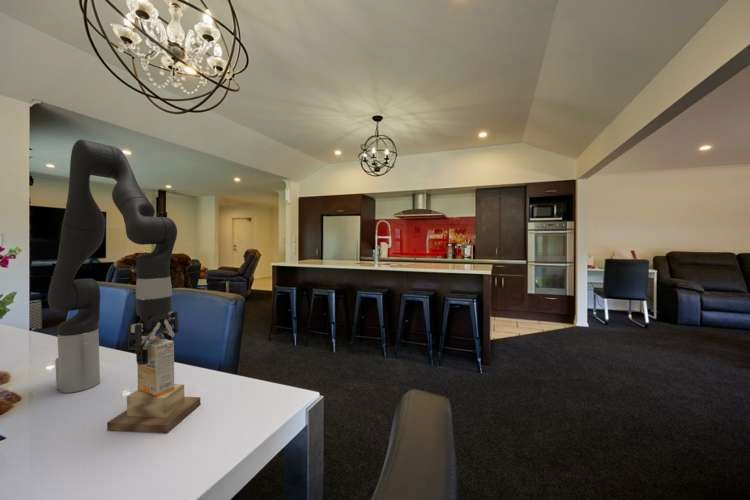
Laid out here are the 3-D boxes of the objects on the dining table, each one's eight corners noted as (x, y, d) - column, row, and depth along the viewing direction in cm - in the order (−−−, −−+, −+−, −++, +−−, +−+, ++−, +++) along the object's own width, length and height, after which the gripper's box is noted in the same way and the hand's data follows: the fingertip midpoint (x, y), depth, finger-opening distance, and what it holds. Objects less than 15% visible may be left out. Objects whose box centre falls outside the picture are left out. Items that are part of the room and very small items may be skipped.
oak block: (127, 415, 79) (126, 396, 78) (149, 401, 86) (148, 383, 85) (165, 417, 78) (165, 397, 78) (184, 402, 85) (184, 384, 85)
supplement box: (136, 390, 81) (135, 340, 81) (156, 382, 86) (155, 335, 85) (156, 398, 78) (154, 345, 77) (175, 389, 82) (174, 339, 81)
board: (107, 430, 76) (107, 422, 76) (149, 402, 89) (149, 395, 89) (167, 433, 75) (166, 425, 75) (200, 404, 88) (200, 397, 88)
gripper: (160, 290, 88) (162, 347, 89) (115, 300, 74) (117, 368, 74) (186, 290, 87) (187, 348, 88) (146, 301, 73) (148, 369, 74)
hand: (155, 357), depth 81 cm, fingers open, 8 cm apart
